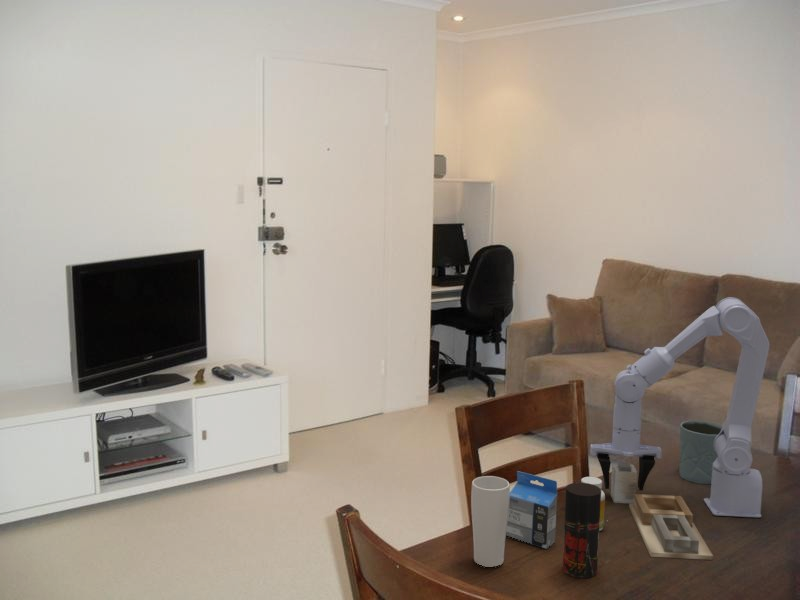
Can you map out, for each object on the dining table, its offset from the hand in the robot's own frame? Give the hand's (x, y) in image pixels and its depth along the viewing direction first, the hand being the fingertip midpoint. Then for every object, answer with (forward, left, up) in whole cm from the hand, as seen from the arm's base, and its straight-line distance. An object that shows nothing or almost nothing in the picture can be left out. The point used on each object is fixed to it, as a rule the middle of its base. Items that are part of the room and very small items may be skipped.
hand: (623, 488), depth 173 cm
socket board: (-6, +15, -2) cm, 17 cm away
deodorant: (+13, +33, -3) cm, 36 cm away
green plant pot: (-20, -15, -3) cm, 25 cm away
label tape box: (+21, +22, -3) cm, 31 cm away
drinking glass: (+29, +32, -3) cm, 43 cm away
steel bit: (0, 0, -2) cm, 2 cm away
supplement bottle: (+9, +15, -3) cm, 18 cm away
